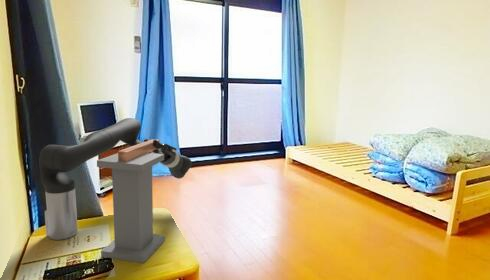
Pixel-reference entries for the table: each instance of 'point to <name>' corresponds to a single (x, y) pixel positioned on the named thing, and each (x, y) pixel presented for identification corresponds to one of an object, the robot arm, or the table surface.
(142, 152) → the bar
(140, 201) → the stand
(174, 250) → the table surface
